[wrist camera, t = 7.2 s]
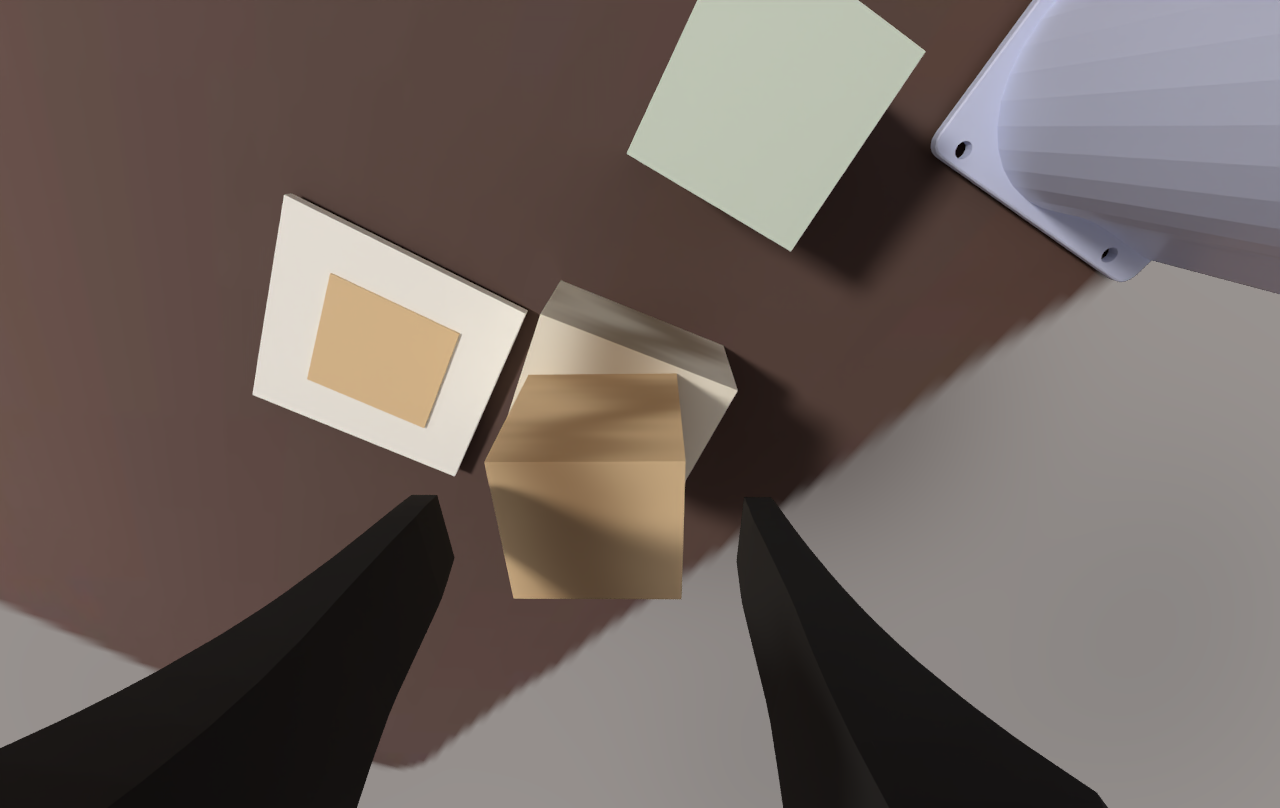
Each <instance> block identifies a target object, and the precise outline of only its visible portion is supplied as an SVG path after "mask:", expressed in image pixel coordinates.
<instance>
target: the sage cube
mask: <svg viewBox="0 0 1280 808" xmlns="http://www.w3.org/2000/svg"><path fill="white" fill-rule="evenodd" d="M925 52H926V51H924V50H923V49H922V48H921V47H919V46H918V45H917V44H915V43H914V42H913V41H911V40H910V39H909V38H907V37H906V36H905V35H903V34H902V33H901V32H899V31H898V30H897V29H895V28H894V27H893V26H891V25H890V24H889V23H888V22H886V21H885V20H884V19H882V18H881V17H880V16H878V15H877V14H876V13H874V12H873V11H872V10H870V9H869V8H868V7H866V6H865V5H864V4H862V3H861V2H860V1H858V0H697V3H696V5H695V7H694V9H693V11H692V13H691V16H690V18H689V20H688V22H687V24H686V26H685V29H684V31H683V33H682V35H681V37H680V39H679V41H678V44H677V46H676V48H675V50H674V52H673V54H672V57H671V59H670V61H669V63H668V65H667V67H666V70H665V72H664V74H663V76H662V78H661V80H660V82H659V85H658V87H657V89H656V91H655V93H654V95H653V98H652V100H651V102H650V104H649V106H648V108H647V111H646V113H645V115H644V117H643V119H642V121H641V123H640V126H639V128H638V130H637V132H636V134H635V136H634V139H633V141H632V143H631V145H630V147H629V149H628V152H627V154H628V155H630V156H631V157H633V158H635V159H636V160H638V161H640V162H641V163H643V164H645V165H646V166H648V167H650V168H652V169H653V170H655V171H657V172H658V173H660V174H662V175H663V176H665V177H667V178H668V179H670V180H672V181H673V182H675V183H677V184H678V185H680V186H682V187H683V188H685V189H687V190H688V191H690V192H692V193H693V194H695V195H697V196H698V197H700V198H702V199H704V200H705V201H707V202H709V203H710V204H712V205H714V206H715V207H717V208H719V209H720V210H722V211H724V212H725V213H727V214H729V215H730V216H732V217H734V218H735V219H737V220H739V221H740V222H742V223H744V224H745V225H747V226H749V227H751V228H752V229H754V230H756V231H757V232H759V233H761V234H762V235H764V236H766V237H767V238H769V239H771V240H772V241H774V242H776V243H777V244H779V245H781V246H782V247H784V248H786V249H787V250H789V251H792V249H793V248H794V246H795V245H796V243H797V242H798V240H799V239H800V237H801V236H802V234H803V233H804V231H805V230H806V228H807V227H808V225H809V224H810V222H811V221H812V219H813V218H814V217H815V215H816V214H817V212H818V211H819V209H820V208H821V206H822V205H823V203H824V202H825V200H826V199H827V197H828V196H829V194H830V193H831V191H832V190H833V188H834V187H835V185H836V184H837V182H838V181H839V179H840V178H841V176H842V175H843V173H844V172H845V170H846V169H847V167H848V166H849V164H850V163H851V162H852V160H853V159H854V157H855V156H856V154H857V153H858V151H859V150H860V148H861V147H862V145H863V144H864V142H865V141H866V139H867V138H868V136H869V135H870V133H871V132H872V130H873V129H874V127H875V126H876V124H877V123H878V121H879V120H880V118H881V117H882V115H883V114H884V112H885V111H886V110H887V108H888V107H889V105H890V104H891V102H892V101H893V99H894V98H895V96H896V95H897V93H898V92H899V90H900V89H901V87H902V86H903V84H904V83H905V81H906V80H907V78H908V77H909V75H910V74H911V72H912V71H913V69H914V68H915V66H916V65H917V63H918V62H919V60H920V59H921V58H922V56H923V55H924V53H925Z"/></svg>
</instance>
